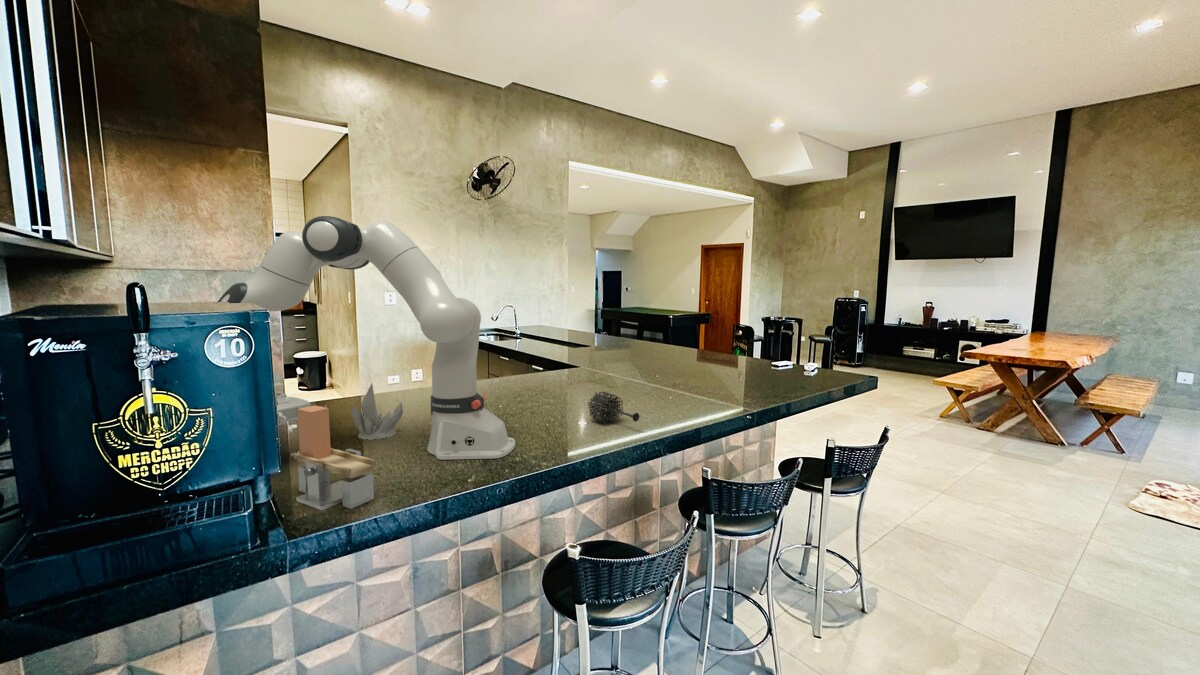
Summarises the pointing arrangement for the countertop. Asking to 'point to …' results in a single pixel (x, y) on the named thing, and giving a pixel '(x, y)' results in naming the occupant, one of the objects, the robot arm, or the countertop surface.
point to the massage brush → (611, 409)
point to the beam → (341, 463)
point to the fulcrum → (333, 487)
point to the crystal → (374, 419)
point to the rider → (314, 432)
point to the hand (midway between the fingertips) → (279, 422)
